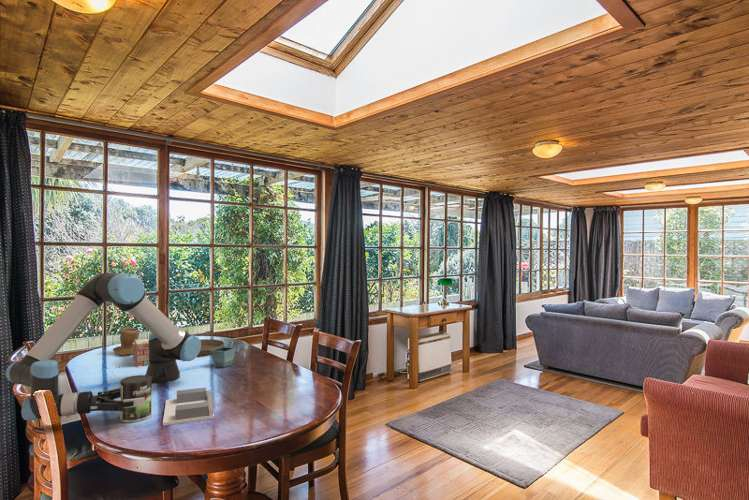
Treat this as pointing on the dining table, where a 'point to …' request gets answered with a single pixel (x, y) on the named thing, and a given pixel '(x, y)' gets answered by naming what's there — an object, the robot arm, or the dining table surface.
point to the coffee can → (136, 389)
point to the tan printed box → (141, 352)
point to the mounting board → (170, 413)
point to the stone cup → (127, 341)
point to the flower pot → (223, 356)
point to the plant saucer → (209, 346)
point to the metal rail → (209, 403)
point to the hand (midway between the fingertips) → (146, 395)
